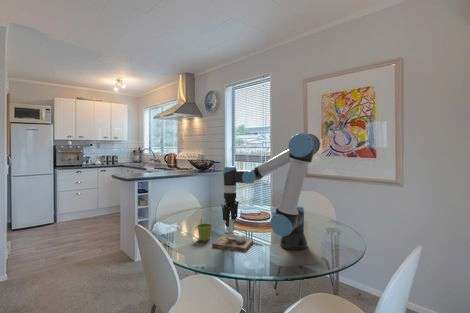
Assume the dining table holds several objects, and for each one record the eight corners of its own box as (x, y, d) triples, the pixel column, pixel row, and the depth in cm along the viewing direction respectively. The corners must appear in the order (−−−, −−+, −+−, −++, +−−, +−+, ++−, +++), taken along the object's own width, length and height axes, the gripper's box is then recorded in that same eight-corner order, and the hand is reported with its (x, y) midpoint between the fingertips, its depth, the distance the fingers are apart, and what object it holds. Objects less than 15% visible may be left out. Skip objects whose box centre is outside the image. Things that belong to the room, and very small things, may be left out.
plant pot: (198, 242, 161) (197, 228, 160) (196, 237, 170) (195, 224, 169) (213, 241, 163) (213, 227, 163) (210, 236, 172) (210, 222, 172)
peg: (247, 240, 157) (247, 221, 157) (241, 243, 153) (241, 224, 152) (228, 235, 167) (228, 217, 166) (222, 237, 162) (222, 219, 162)
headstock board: (253, 243, 159) (253, 239, 159) (244, 253, 145) (244, 248, 144) (222, 239, 166) (222, 235, 166) (210, 248, 152) (210, 244, 152)
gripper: (234, 189, 169) (234, 226, 170) (216, 193, 157) (216, 232, 158) (243, 190, 164) (243, 229, 165) (225, 194, 152) (225, 235, 153)
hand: (230, 230), depth 162 cm, fingers closed on peg, 3 cm apart
